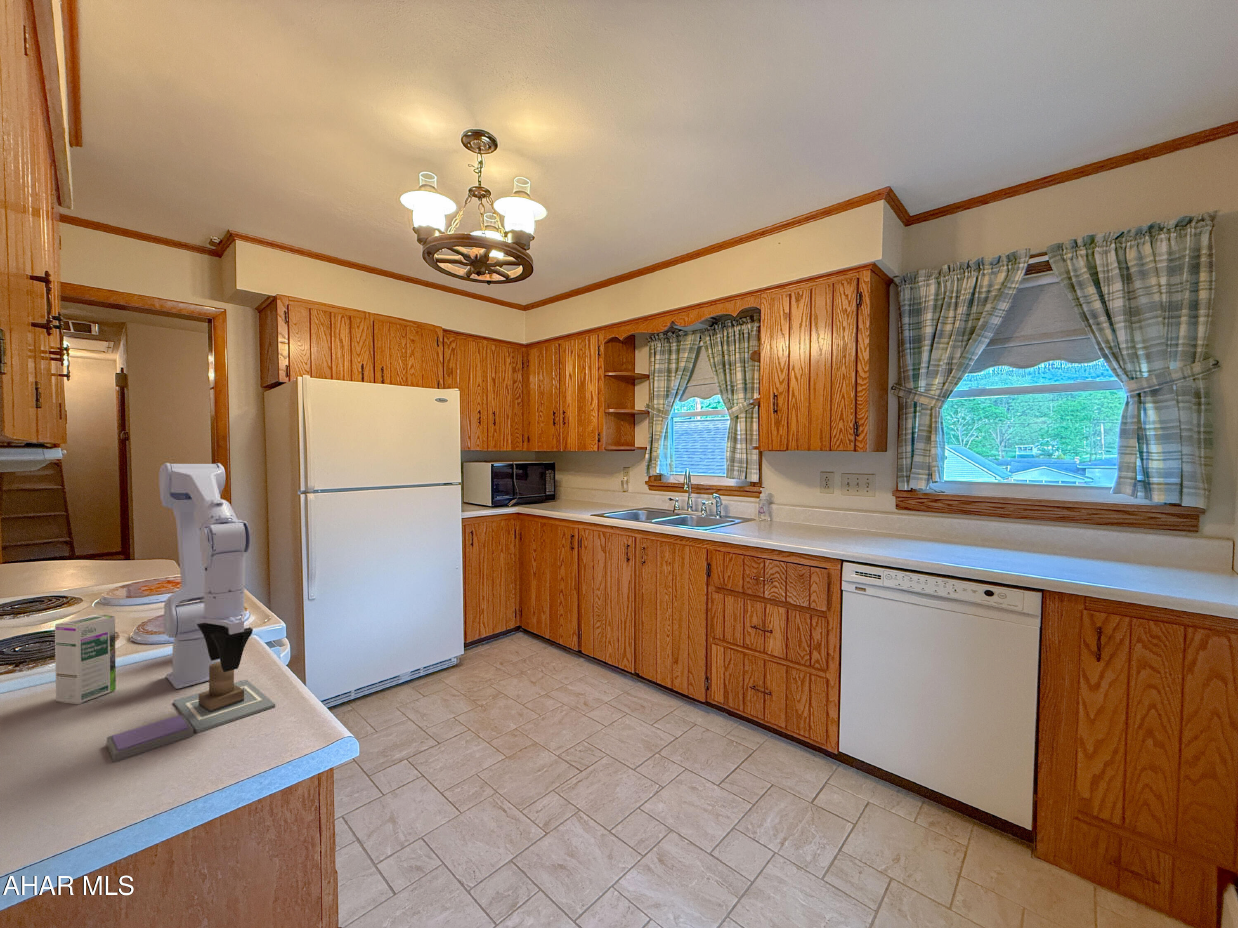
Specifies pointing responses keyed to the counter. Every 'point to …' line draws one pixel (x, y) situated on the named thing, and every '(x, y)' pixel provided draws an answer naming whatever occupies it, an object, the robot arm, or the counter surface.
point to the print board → (207, 720)
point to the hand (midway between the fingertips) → (224, 664)
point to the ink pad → (148, 737)
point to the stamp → (220, 690)
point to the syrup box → (85, 658)
